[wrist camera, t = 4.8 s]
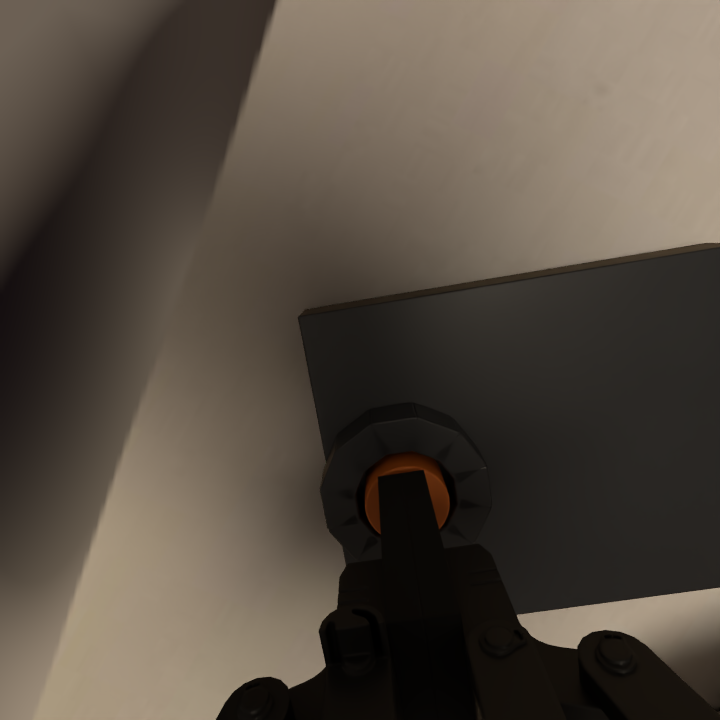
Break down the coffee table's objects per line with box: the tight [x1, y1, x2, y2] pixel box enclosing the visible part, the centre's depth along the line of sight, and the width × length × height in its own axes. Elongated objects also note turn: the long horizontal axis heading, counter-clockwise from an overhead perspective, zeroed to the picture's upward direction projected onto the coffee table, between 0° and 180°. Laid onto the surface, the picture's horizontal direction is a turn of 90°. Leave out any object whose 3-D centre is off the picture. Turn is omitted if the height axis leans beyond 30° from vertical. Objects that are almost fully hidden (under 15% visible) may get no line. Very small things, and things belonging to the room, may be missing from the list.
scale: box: [298, 243, 720, 615], centre depth 19 cm, size 15×13×4 cm
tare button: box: [365, 451, 450, 534], centre depth 18 cm, size 3×3×2 cm
